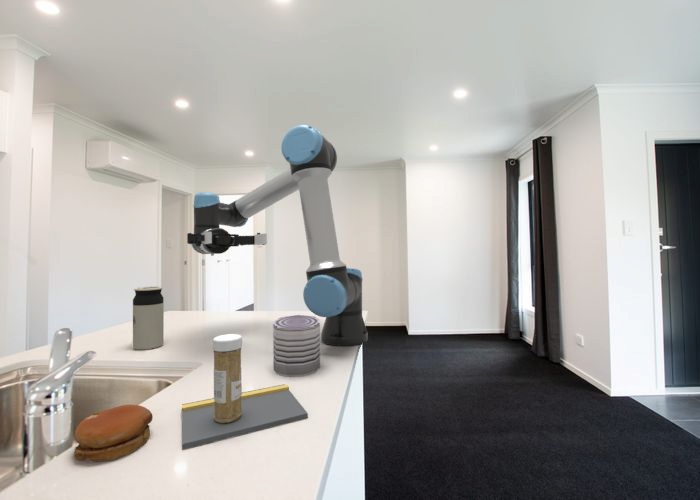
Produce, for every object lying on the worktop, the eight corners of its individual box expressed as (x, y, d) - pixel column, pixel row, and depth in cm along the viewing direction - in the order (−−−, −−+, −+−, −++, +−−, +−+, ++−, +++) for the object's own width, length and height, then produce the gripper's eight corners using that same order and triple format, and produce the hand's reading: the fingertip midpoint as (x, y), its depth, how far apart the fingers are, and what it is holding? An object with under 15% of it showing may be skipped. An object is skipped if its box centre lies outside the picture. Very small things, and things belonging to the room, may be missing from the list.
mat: (284, 388, 68) (284, 381, 68) (307, 417, 55) (307, 409, 55) (182, 408, 59) (182, 400, 59) (182, 449, 47) (182, 439, 47)
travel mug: (165, 342, 104) (165, 286, 105) (160, 348, 97) (160, 288, 97) (136, 344, 101) (136, 287, 102) (129, 351, 94) (129, 289, 94)
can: (325, 362, 84) (325, 315, 84) (311, 379, 73) (311, 325, 73) (284, 359, 86) (284, 314, 86) (264, 375, 75) (264, 323, 75)
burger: (141, 457, 45) (141, 423, 45) (58, 472, 42) (58, 436, 42) (158, 422, 54) (158, 395, 55) (92, 433, 52) (92, 403, 52)
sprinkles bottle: (245, 418, 54) (245, 337, 54) (216, 427, 51) (216, 341, 51) (237, 408, 57) (237, 331, 58) (210, 415, 55) (210, 335, 55)
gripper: (255, 253, 104) (285, 253, 88) (167, 254, 89) (183, 253, 72) (255, 230, 105) (285, 225, 88) (167, 226, 89) (183, 220, 73)
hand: (239, 238), depth 80 cm, fingers open, 13 cm apart
